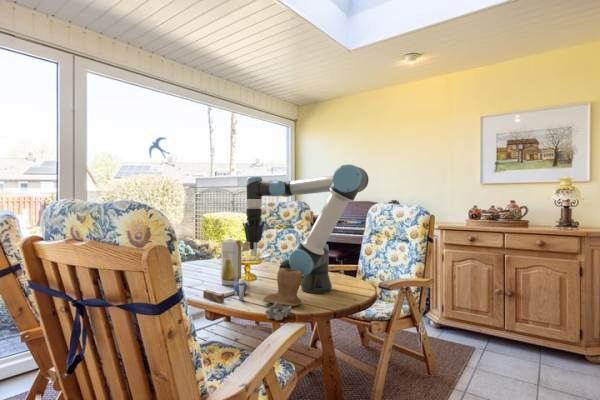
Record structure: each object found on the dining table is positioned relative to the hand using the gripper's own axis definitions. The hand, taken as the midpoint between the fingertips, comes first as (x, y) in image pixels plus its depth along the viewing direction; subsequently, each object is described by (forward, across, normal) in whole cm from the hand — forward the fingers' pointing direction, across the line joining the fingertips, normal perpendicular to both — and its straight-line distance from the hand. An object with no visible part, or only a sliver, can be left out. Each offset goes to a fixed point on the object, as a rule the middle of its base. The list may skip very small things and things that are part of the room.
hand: (253, 255), depth 164 cm
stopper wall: (+16, +24, 0) cm, 29 cm away
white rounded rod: (+16, +16, +10) cm, 25 cm away
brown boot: (+17, +7, +27) cm, 33 cm away
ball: (+13, +9, +2) cm, 16 cm away
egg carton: (+17, +19, +35) cm, 43 cm away
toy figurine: (+17, -30, 0) cm, 34 cm away
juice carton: (+17, +1, -16) cm, 23 cm away
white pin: (+15, +12, 0) cm, 20 cm away
